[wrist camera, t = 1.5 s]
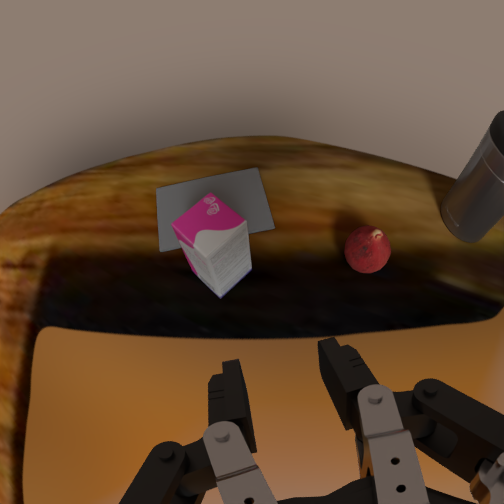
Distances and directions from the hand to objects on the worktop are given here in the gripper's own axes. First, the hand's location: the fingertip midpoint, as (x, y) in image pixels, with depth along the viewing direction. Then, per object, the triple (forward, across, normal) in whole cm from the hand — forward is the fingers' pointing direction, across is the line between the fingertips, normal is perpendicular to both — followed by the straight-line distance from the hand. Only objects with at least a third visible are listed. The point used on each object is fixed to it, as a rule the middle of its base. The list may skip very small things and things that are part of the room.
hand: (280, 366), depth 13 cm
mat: (+35, +3, -1) cm, 36 cm away
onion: (+26, -15, +8) cm, 31 cm away
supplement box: (+29, +3, +6) cm, 29 cm away
